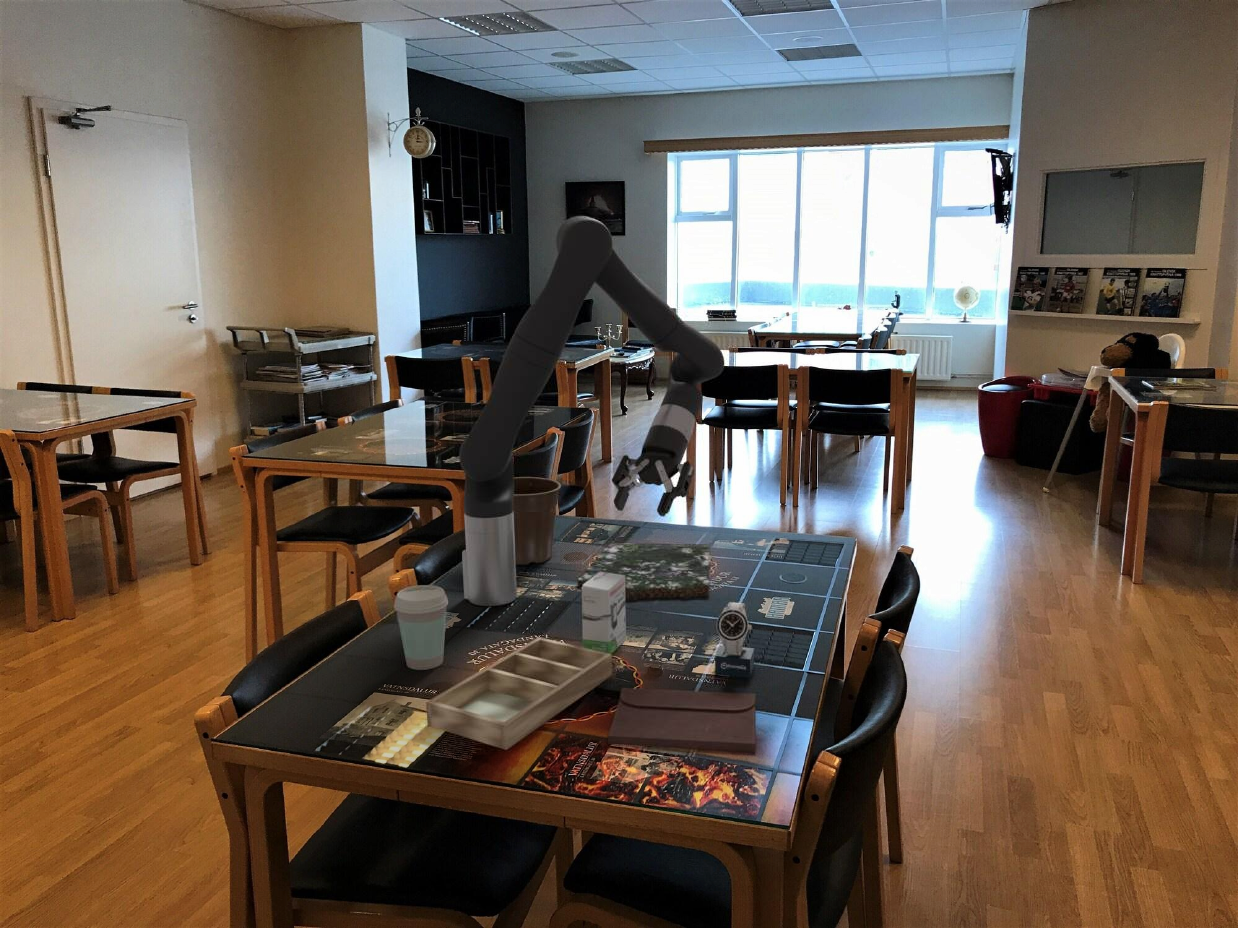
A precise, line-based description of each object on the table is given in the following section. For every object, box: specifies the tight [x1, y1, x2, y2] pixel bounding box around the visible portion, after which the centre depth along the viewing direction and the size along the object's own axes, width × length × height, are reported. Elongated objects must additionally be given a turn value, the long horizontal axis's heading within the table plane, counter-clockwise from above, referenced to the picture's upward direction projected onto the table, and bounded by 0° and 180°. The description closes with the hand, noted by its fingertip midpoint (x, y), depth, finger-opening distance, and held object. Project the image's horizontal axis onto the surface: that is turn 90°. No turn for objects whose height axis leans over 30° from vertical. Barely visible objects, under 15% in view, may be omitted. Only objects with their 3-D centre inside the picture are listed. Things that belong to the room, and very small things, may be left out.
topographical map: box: [577, 542, 711, 601], centre depth 202 cm, size 26×33×3 cm
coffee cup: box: [393, 584, 449, 671], centre depth 158 cm, size 9×9×12 cm
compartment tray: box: [425, 636, 613, 751], centre depth 145 cm, size 14×27×4 cm, turn 149°
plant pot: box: [513, 476, 562, 566], centre depth 211 cm, size 16×16×16 cm
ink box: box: [581, 572, 627, 655], centre depth 163 cm, size 9×5×12 cm, turn 160°
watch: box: [714, 601, 755, 679], centre depth 153 cm, size 6×8×11 cm
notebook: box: [607, 687, 756, 753], centre depth 138 cm, size 15×20×2 cm
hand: (639, 511), depth 171 cm, fingers open, 8 cm apart
